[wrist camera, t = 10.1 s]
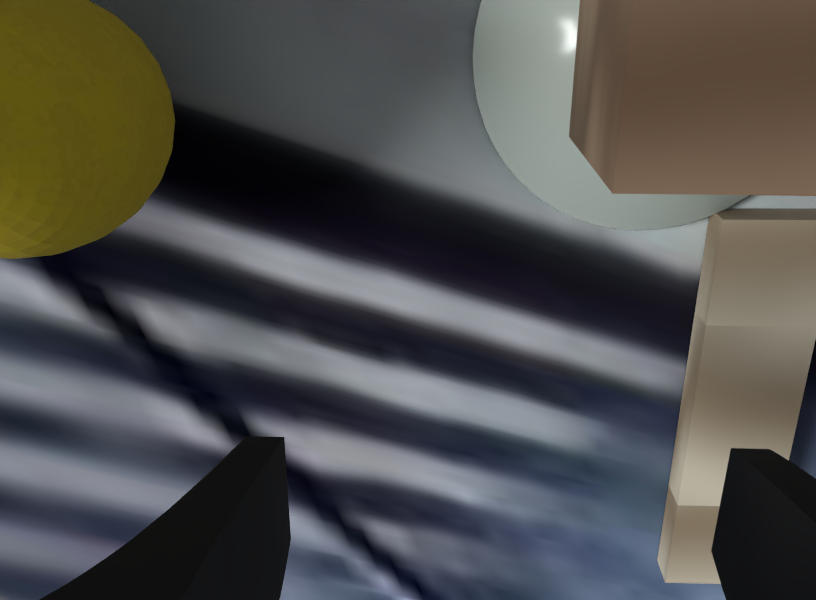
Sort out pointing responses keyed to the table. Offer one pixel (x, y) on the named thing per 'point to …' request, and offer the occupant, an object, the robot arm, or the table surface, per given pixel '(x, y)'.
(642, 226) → the disc
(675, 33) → the walnut block
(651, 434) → the table surface
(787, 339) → the pocket block
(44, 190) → the lemon
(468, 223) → the table surface
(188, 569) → the robot arm
